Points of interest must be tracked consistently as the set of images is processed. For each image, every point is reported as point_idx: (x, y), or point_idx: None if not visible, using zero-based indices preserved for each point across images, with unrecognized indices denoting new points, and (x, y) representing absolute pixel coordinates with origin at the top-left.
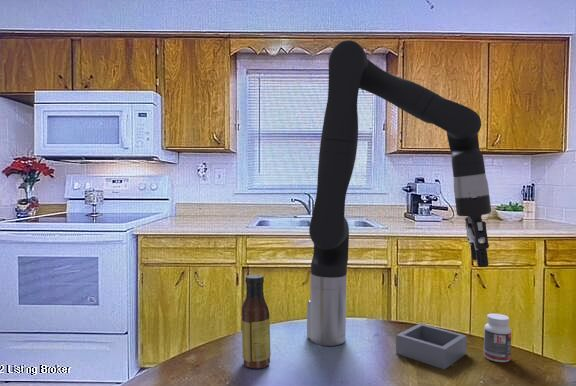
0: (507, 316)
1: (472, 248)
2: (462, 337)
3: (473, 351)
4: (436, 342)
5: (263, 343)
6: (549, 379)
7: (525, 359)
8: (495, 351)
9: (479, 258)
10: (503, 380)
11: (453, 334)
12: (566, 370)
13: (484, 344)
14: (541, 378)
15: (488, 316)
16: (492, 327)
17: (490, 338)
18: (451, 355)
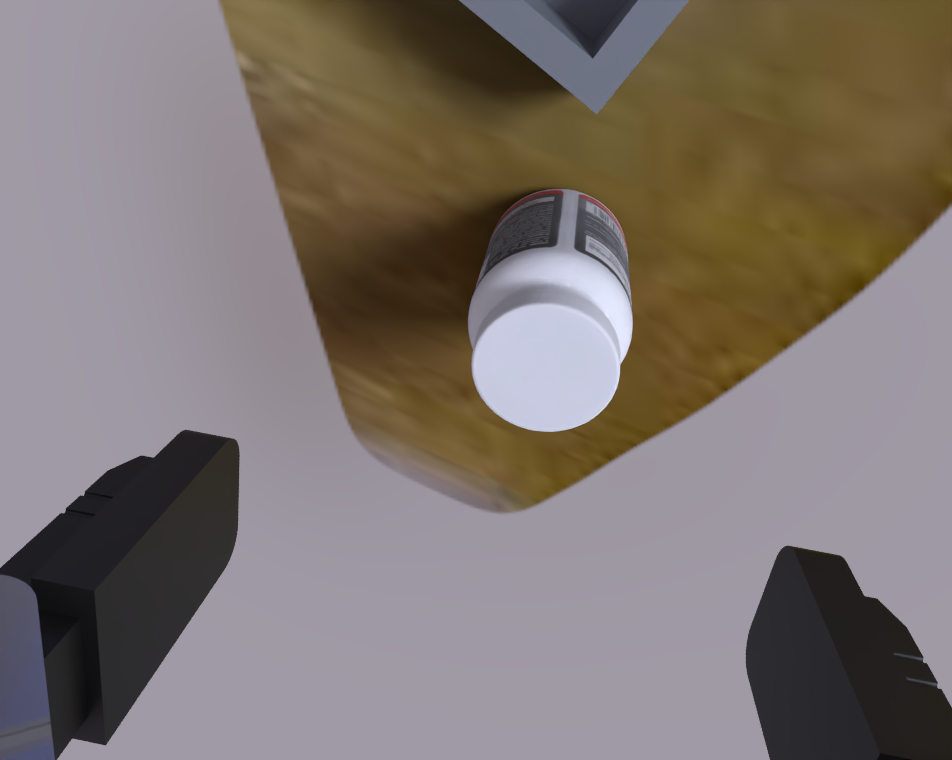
0: (551, 430)
1: (843, 712)
2: (551, 68)
3: (647, 149)
4: None
5: None
6: (352, 384)
7: None
8: (490, 243)
9: (84, 514)
10: (283, 181)
11: (626, 16)
12: (461, 487)
13: (559, 210)
14: (354, 358)
15: (537, 305)
16: (501, 289)
17: (503, 247)
18: None
